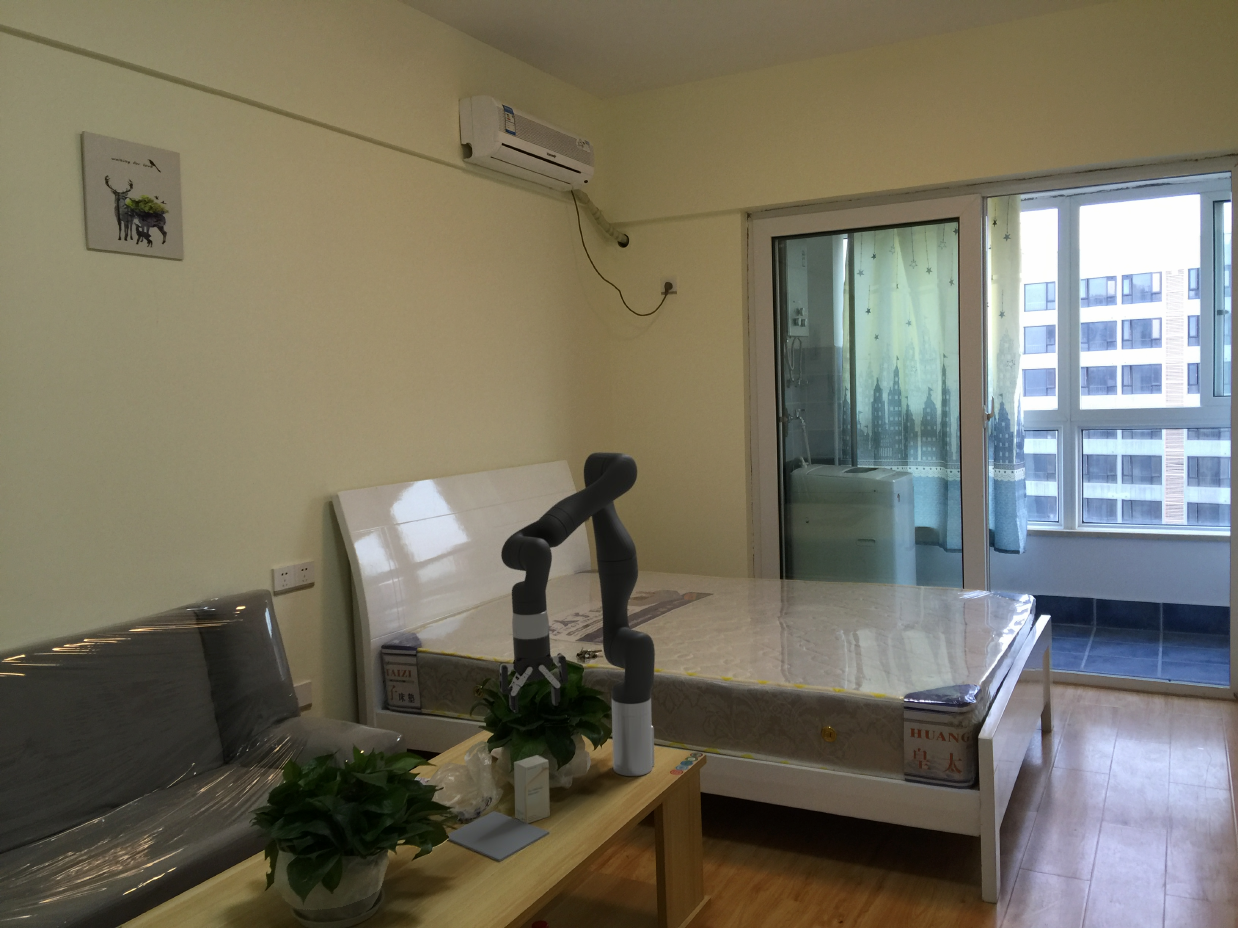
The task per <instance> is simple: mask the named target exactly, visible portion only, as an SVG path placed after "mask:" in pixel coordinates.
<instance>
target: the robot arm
mask: <svg viewBox="0 0 1238 928" xmlns="http://www.w3.org/2000/svg"><path fill="white" fill-rule="evenodd" d="M637 478H638V466H637V463H636V460H635V459H634V458H633V456H631V455H629V454H626V453H622V452H603V451H601V452H593V453H590V455H588V457H586V460H585V462H584V466H583V480H584V481H583V482H584V488H583V489H580V490H579V491H577V492H575V493H573V494H571V495H569V496H567V497H565V498H563V499H560V500H559V501H558V502H556V503H555V504H553V505H552V506H551V507H550V508H549V509H548V510H547V511H545V513H544V514H542V515H541V517H539V519H538V520H536V521H533V522H531V523H530V524H528V525H526V526H524V527H522V528H520V529H519V530H517V531H515V532H514V533H513V534H511V535H510V536H509V537H508V538H507V539H506V540H505V542H504V544H503V545H502V548H501V552H500V556H501V557H500V558H501V561H502V563H503V564H504V565H505V567H506V568H509V569H511V570H516V571H522V572H525V577H524V580H522V581H519V582H515V583H514V585H513V586H512V588H511V604H512V605H511V606H512V621H511V627H512V628H511V629H512V641H513V643H512V645H513V657H514V658H513V661H512V663H504V662H500V663H499V664H498V676H499V677H498V678H499V679H498V680H499V681H498V683H499V684H498V689H499V691H500V692H501V694H502V695H508V701H509V702H508V704H509V708H510V709H511V711H512V712H514V713H515V714H516V713H519V711H520V710H519V697H518V692H519V691H520V689H521V688H522V687H523V686H524V684H525V682H526V683H531V682H534V681H542V680H543V679H544V678H546V679H547V680H548V681H549V682H550V683H551V684H552V685H550V691H551V692H550V693H551V703H552V705H553V706H558V705H559V703H560V701H561V686H563V685H564V684H568V683H569V674H568V673H569V672H568V666H567V658H566V656H565V655H563V653H561V652H558V653H557V655H554V656H551V640H550V638H551V637H550V630H551V629H550V628H551V627H550V624H549V623H550V621H549V615H548V610H547V607H548V605H547V594H546V593H547V592H546V591H547V587H548V586H547V585H548V583H549V576H550V572H551V567H552V561H553V555H552V553H553V552H552V549H553V548H556V547H559V546H560V545H562V544H563V543H564V542H565V541H566V540H567V539H568V538H569V537H570V536H571V535H572V534H573V533H574V532H575V531H576V530H577V529H579V527H580V526H581V525H582V524H584V523H585V522H586V521H587V520H589V519H590V518H591V520H592V522H591V523H592V527H593V534H594V542H595V553H596V565H597V570H598V571H597V573H598V577H599V586H600V598H601V599H600V600H601V610H602V648H603V655H604V657H605V659H606V661H607V662H608V664H610V665H611V666H613V667H617V668H620V669H622V670H624V677H623V678H624V680H620V681H618V682H616V683H614V684H613V685H612V687H611V720H612V721H611V723H612V724H611V725H612V726H611V727H612V732H611V733H612V770H613V771H614V772H615V773H616V774H618V775H622V776H625V777H626V776H627V777H637V776H643V775H646V774H648V773H650V772H651V771H652V770H653V767H654V766H655V727H654V726H653V725H652V724H653V723H652V689H653V687H654V682H655V664H656V663H655V656H656V655H655V654H656V653H655V651H656V650H655V644H654V640H653V639H652V636H650V634H648V633H645V632H642V631H638V630H635V629H631V628H630V623H629V616H628V608H629V607H628V605H629V600H630V599H631V596H632V594H633V591H634V588H635V587H636V585H637V581H638V578H639V566H638V554H637V548H636V545H635V543H634V539H633V538H632V536H631V534H630V533H629V531H628V530H627V528H626V527H625V525H624V523H623V522H622V520H621V519H620V517H619V514H618V512H617V510H616V508H615V507H616V506H615V500H617V499H619V498H620V497H621V496H623V495H624V494H626V493H627V492H629V491H630V490H631V489H632V488H633V487H634V485H635V483H636V480H637ZM553 663H554V664H555V665H556V666H557V669H558V670H557V671H558V677H557V678H555V676H554V675H553V674H552V673H551V672H550V671H549V670H550V669H551V667H552V666H553ZM512 670H514V671H515V672H516V673H515V674H514V677H512V681H511V683H510V685H509V675H510V674H511V672H512Z"/></svg>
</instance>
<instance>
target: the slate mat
mask: <svg viewBox="0 0 1238 928" xmlns="http://www.w3.org/2000/svg"><path fill="white" fill-rule="evenodd" d="M447 834H448V835H449V840H448V841H449V842H452V843H455V844H457V845H460V846H463V847H465V848H466V849H469V850H472V851H474V852H476V853H478V854H481V855H484V856H486V857H488V858H491V859H493V860H495V861H498V862H502V861H503V860H505V859H507V858H508V857H511V856H512V855H514V854H517V853H518V852H519V851H521V850H523V849H525V848H526V847H528V846H530V845H532V844H534V843H535V842H537V841H539V840H541V839H543V838H544V837H546V836H548V835H550V831H548V830H546V829H544V828H541V827H538V826H535V825H532V824H530V823H525V822H522V821H520V820H519V819H517V818H514V817H511V816H509V815H506V814H503V813H501V812H498V811H495V810H493V811H491V812H489V813H488V814H485V815H483V816H481V817H479V818H477V819H475V820H473V821H471V822H470V823H467V824H465V825H463V826H461V827H459V828H458V829H456V830H454V831H452V832H449V833H447Z"/></svg>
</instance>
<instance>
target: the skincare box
mask: <svg viewBox="0 0 1238 928" xmlns="http://www.w3.org/2000/svg"><path fill="white" fill-rule="evenodd" d="M513 768H514V769H513V770H514V771H513V773H514V774H513V775H514V776H513V777H514V778H513V779H514V810H515V811H514V813H515V814H514V817H515V819H517V820H520V821H522V822H525V823H528V824H530V823H534V822H536V821H539V820H543V819H546V818H548V817H550V815H551V814H550V811H551V810H550V809H551V807H550V773H549V771H550V770H549V769H550V767H549V760H548V759H546V758H544V757H543V756H541V755H537V754H536V755H533V756H530V757H526V758H523V759H520V760H517V761H514V762H513Z"/></svg>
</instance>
